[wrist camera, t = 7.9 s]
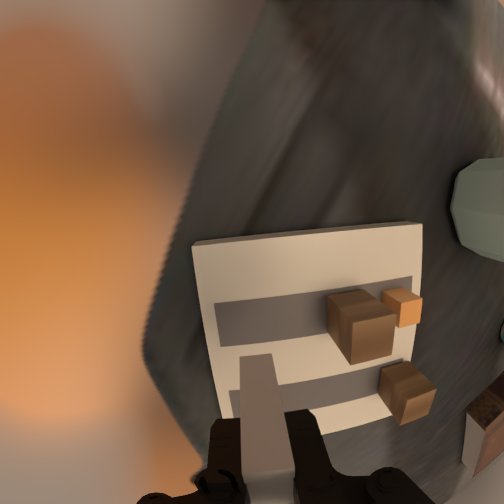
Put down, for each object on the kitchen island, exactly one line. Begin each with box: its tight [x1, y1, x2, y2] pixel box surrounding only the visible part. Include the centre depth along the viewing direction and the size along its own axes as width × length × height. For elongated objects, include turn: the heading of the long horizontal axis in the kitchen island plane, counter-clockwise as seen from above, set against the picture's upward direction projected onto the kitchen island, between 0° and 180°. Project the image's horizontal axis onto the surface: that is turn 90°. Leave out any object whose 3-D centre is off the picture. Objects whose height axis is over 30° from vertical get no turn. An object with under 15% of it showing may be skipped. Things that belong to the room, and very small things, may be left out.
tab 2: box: [377, 361, 436, 425], centre depth 20 cm, size 3×3×5 cm
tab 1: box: [327, 289, 396, 365], centre depth 18 cm, size 3×3×5 cm
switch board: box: [192, 221, 423, 435], centre depth 21 cm, size 20×18×6 cm
